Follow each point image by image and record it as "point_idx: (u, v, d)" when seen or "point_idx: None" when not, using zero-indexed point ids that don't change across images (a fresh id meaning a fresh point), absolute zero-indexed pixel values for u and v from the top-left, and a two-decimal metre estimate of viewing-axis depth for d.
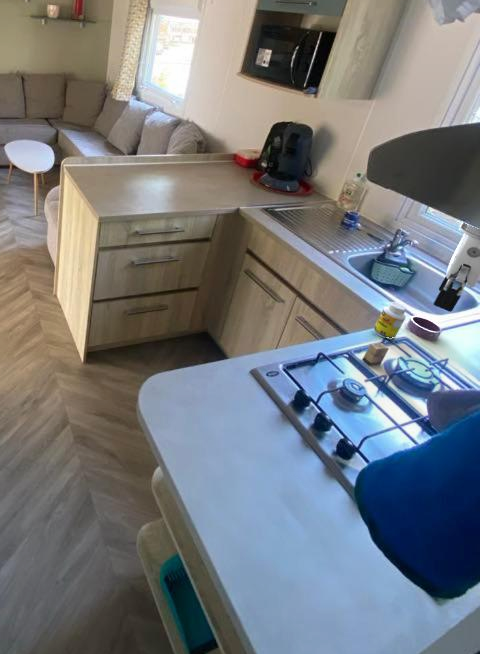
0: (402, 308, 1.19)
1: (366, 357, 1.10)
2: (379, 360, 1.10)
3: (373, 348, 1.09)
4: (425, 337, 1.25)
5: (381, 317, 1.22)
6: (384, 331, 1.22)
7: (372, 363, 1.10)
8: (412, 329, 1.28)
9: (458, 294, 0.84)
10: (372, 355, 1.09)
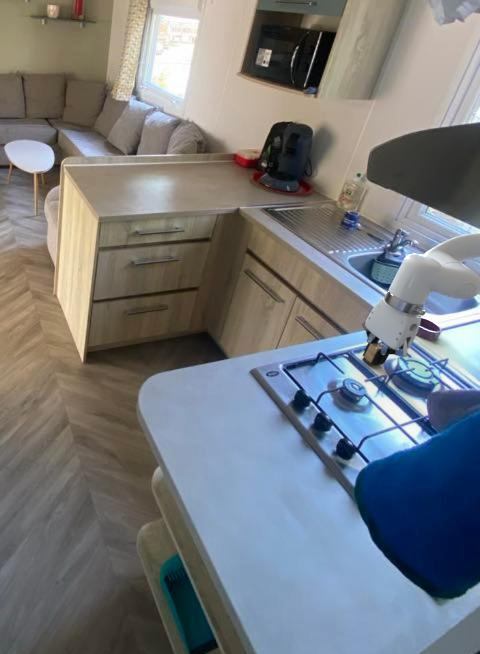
0: None
1: (366, 357, 1.10)
2: None
3: (373, 348, 1.09)
4: (425, 337, 1.25)
5: None
6: None
7: None
8: None
9: None
10: (372, 355, 1.09)
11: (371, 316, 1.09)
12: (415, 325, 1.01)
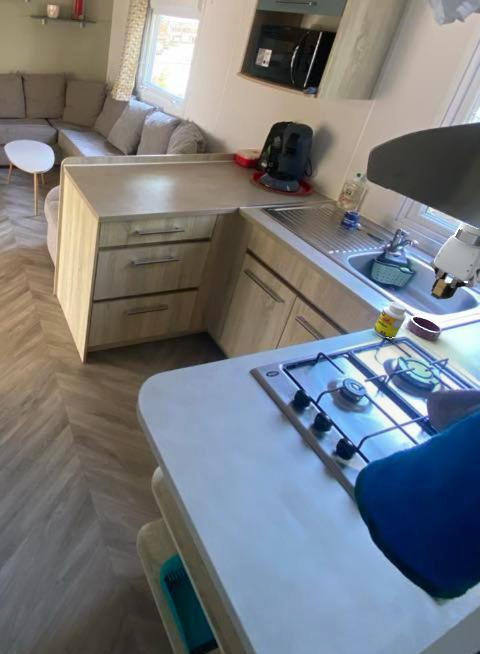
0: (402, 308, 1.19)
1: (435, 292, 1.21)
2: None
3: (443, 282, 1.19)
4: (425, 337, 1.25)
5: (381, 317, 1.22)
6: (384, 331, 1.22)
7: (441, 297, 1.20)
8: (412, 329, 1.28)
9: (458, 287, 1.18)
10: (441, 289, 1.19)
11: (441, 254, 1.20)
12: None
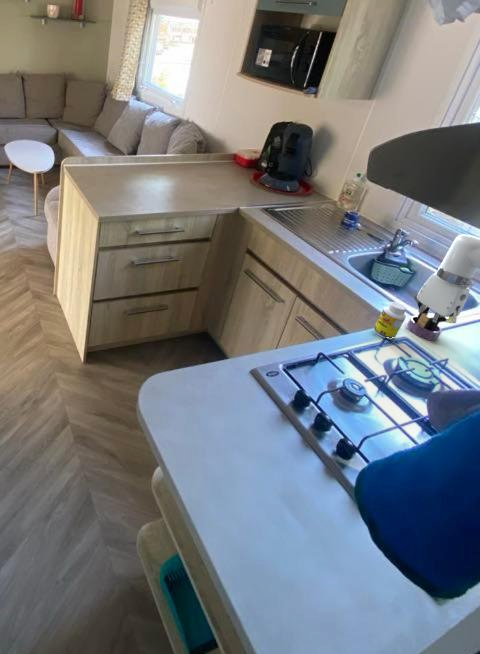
0: (402, 308, 1.19)
1: None
2: None
3: (425, 317, 1.26)
4: (425, 337, 1.25)
5: (381, 317, 1.22)
6: (384, 331, 1.22)
7: None
8: (412, 329, 1.28)
9: None
10: (424, 323, 1.26)
11: (423, 289, 1.26)
12: (464, 296, 1.19)
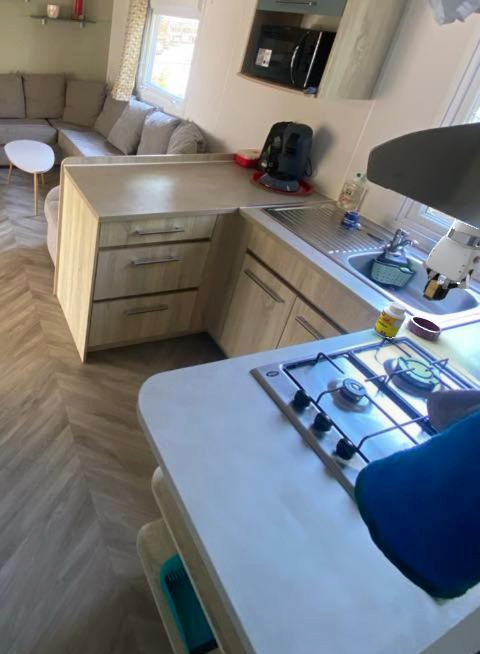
0: (402, 308, 1.19)
1: (427, 293, 1.17)
2: None
3: (434, 283, 1.15)
4: (425, 337, 1.25)
5: (381, 317, 1.22)
6: (384, 331, 1.22)
7: None
8: (412, 329, 1.28)
9: (451, 288, 1.14)
10: (433, 290, 1.16)
11: (433, 254, 1.16)
12: (478, 258, 1.08)
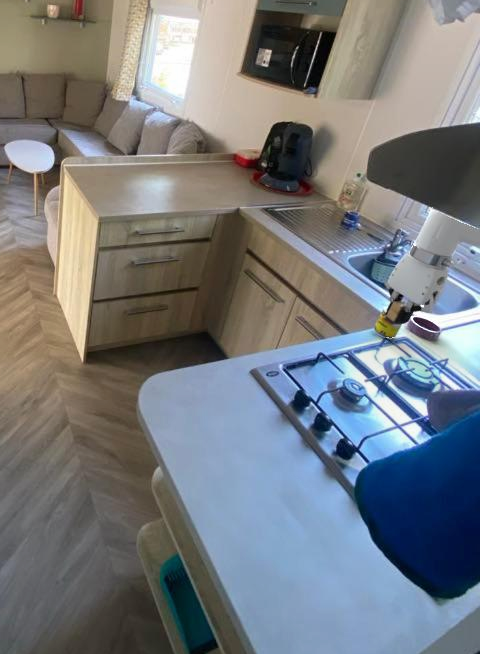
0: None
1: (389, 316, 1.06)
2: None
3: (397, 305, 1.04)
4: (425, 337, 1.25)
5: (381, 317, 1.22)
6: (384, 331, 1.22)
7: (395, 322, 1.05)
8: (412, 329, 1.28)
9: (415, 311, 1.03)
10: (395, 313, 1.04)
11: (395, 273, 1.05)
12: (442, 279, 0.97)
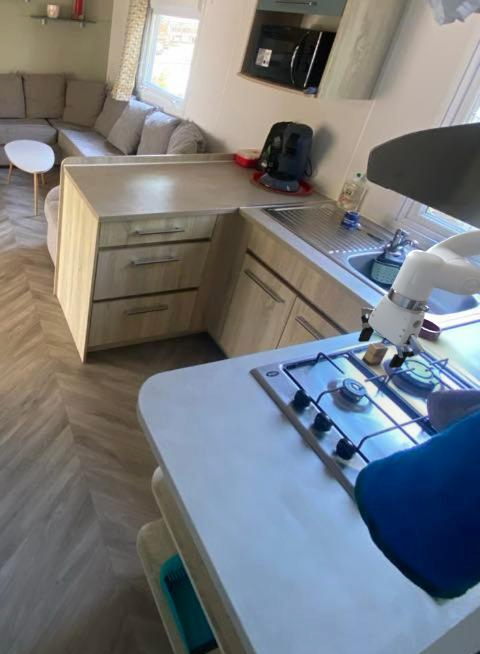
0: None
1: (366, 357, 1.10)
2: (379, 360, 1.10)
3: (373, 348, 1.09)
4: (425, 337, 1.25)
5: None
6: None
7: (372, 363, 1.10)
8: None
9: None
10: (372, 355, 1.09)
11: (375, 313, 1.09)
12: (419, 322, 1.01)
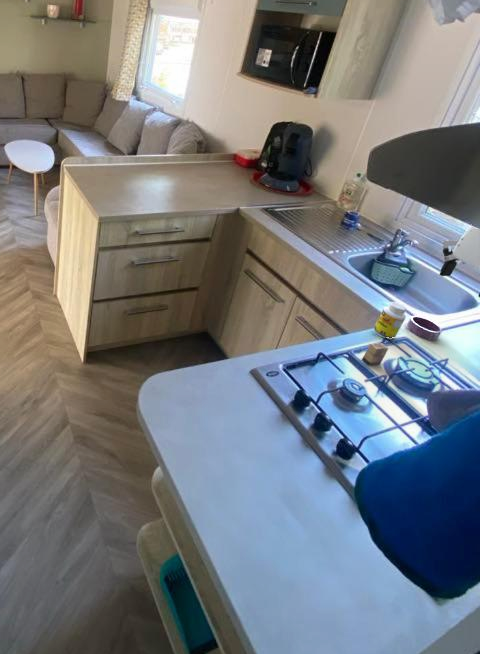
0: (402, 308, 1.19)
1: (366, 357, 1.10)
2: (379, 360, 1.10)
3: (373, 348, 1.09)
4: (425, 337, 1.25)
5: (381, 317, 1.22)
6: (384, 331, 1.22)
7: (372, 363, 1.10)
8: (412, 329, 1.28)
9: None
10: (372, 355, 1.09)
11: (461, 243, 1.04)
12: None
